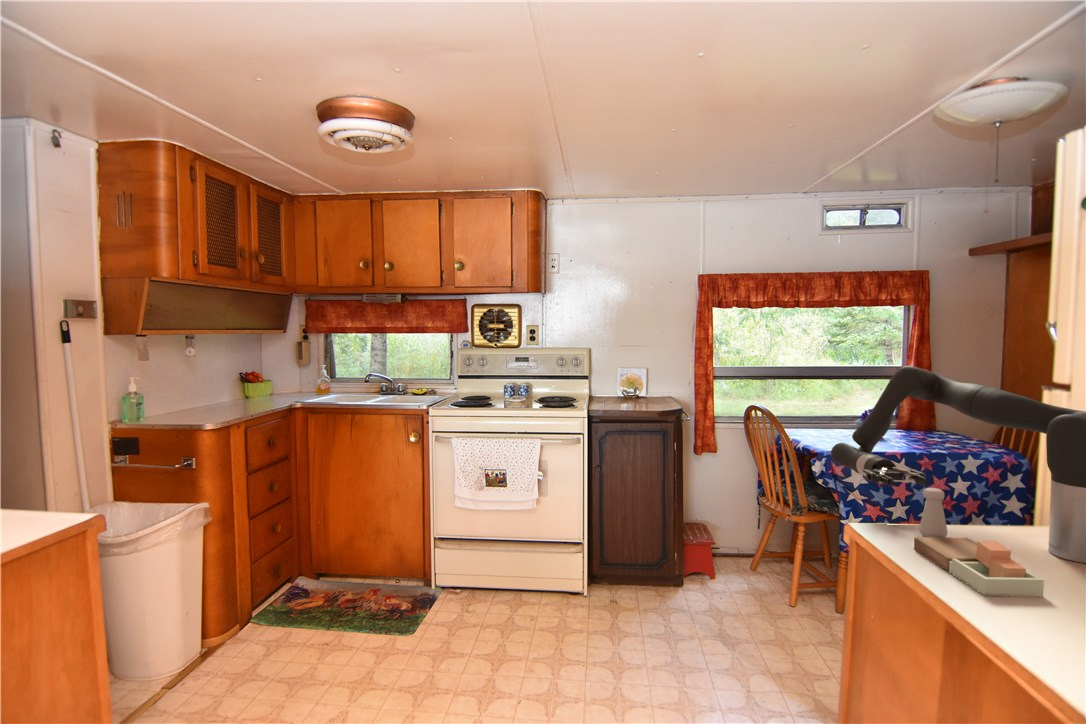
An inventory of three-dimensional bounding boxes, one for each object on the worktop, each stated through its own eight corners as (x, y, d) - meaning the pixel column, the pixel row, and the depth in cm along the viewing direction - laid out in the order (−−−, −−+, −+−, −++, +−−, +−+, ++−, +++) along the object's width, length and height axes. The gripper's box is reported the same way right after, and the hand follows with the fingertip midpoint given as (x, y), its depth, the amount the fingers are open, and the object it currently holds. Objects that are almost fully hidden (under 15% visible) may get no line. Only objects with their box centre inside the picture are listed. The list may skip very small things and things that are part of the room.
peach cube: (1011, 558, 114) (1026, 568, 110) (1009, 576, 114) (1023, 586, 110) (990, 558, 114) (1004, 568, 110) (988, 575, 115) (1002, 586, 111)
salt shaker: (937, 535, 139) (939, 485, 138) (952, 544, 133) (954, 492, 133) (913, 535, 140) (914, 485, 139) (927, 544, 134) (928, 492, 133)
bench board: (966, 549, 130) (966, 537, 130) (1005, 572, 118) (1005, 558, 118) (914, 549, 131) (914, 537, 131) (947, 571, 119) (947, 558, 119)
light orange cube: (995, 558, 118) (997, 541, 117) (1009, 568, 114) (1011, 550, 114) (975, 558, 118) (977, 541, 118) (988, 568, 115) (990, 550, 114)
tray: (1002, 573, 118) (1002, 557, 118) (1043, 597, 107) (1043, 579, 107) (949, 572, 119) (949, 556, 118) (984, 596, 108) (985, 579, 108)
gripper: (851, 456, 163) (881, 469, 147) (900, 455, 162) (936, 468, 146) (851, 480, 163) (881, 496, 147) (900, 480, 162) (936, 496, 146)
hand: (908, 482), depth 146 cm, fingers open, 8 cm apart
